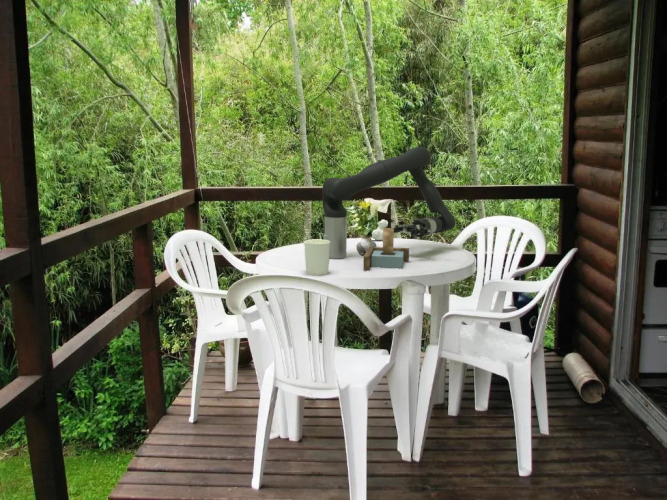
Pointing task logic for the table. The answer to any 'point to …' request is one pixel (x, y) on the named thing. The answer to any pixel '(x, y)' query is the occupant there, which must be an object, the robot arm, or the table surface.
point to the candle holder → (317, 256)
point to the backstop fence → (371, 249)
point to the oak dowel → (388, 241)
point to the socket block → (387, 259)
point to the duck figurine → (379, 230)
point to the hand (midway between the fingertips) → (402, 231)
